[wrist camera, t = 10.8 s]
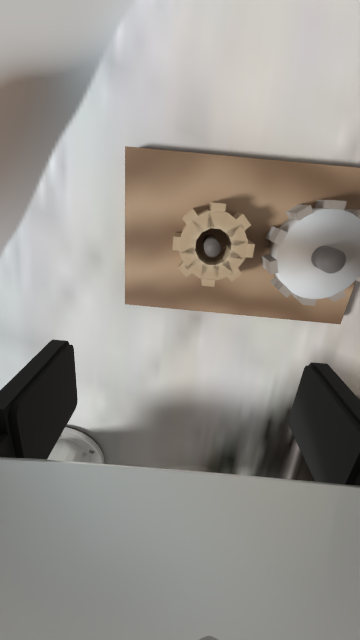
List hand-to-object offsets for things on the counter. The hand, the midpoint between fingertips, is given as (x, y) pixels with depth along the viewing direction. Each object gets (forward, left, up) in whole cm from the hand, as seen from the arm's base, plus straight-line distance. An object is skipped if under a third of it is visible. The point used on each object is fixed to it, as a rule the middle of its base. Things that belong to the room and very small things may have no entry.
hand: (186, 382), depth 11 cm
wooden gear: (+3, -2, -19) cm, 19 cm away
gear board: (+3, -5, -21) cm, 22 cm away
